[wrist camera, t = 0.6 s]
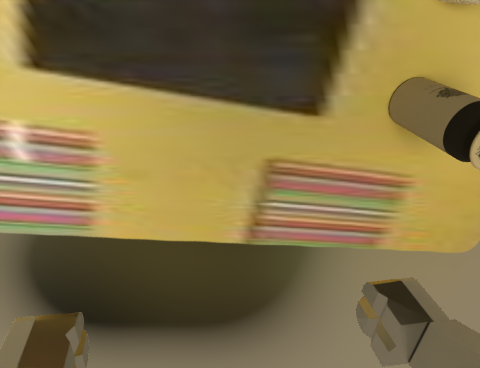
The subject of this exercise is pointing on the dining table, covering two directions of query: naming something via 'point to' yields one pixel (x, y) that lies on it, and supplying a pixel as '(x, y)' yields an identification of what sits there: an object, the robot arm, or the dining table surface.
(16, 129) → the dining table surface
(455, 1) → the honey pot
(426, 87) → the travel mug
